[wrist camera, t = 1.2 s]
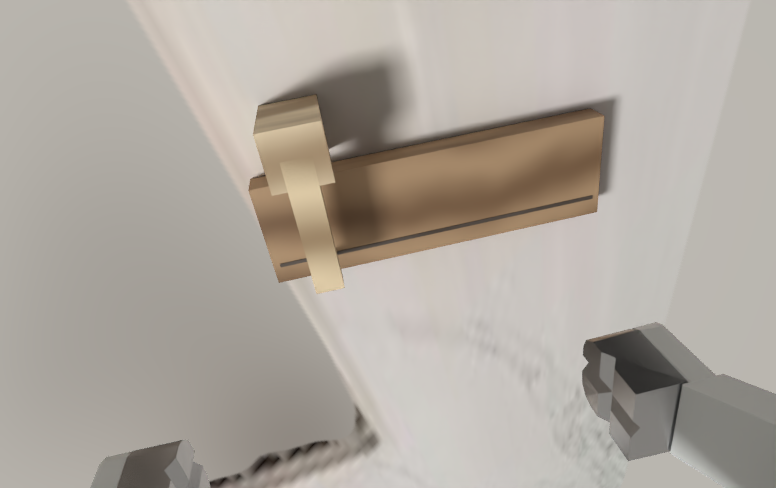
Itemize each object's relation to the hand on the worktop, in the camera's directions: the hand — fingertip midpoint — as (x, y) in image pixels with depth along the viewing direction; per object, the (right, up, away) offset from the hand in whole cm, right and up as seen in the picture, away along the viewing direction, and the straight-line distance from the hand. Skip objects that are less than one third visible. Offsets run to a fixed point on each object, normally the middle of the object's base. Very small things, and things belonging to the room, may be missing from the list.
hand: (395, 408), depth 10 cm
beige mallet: (-6, +8, +27) cm, 29 cm away
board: (+3, +7, +29) cm, 31 cm away
